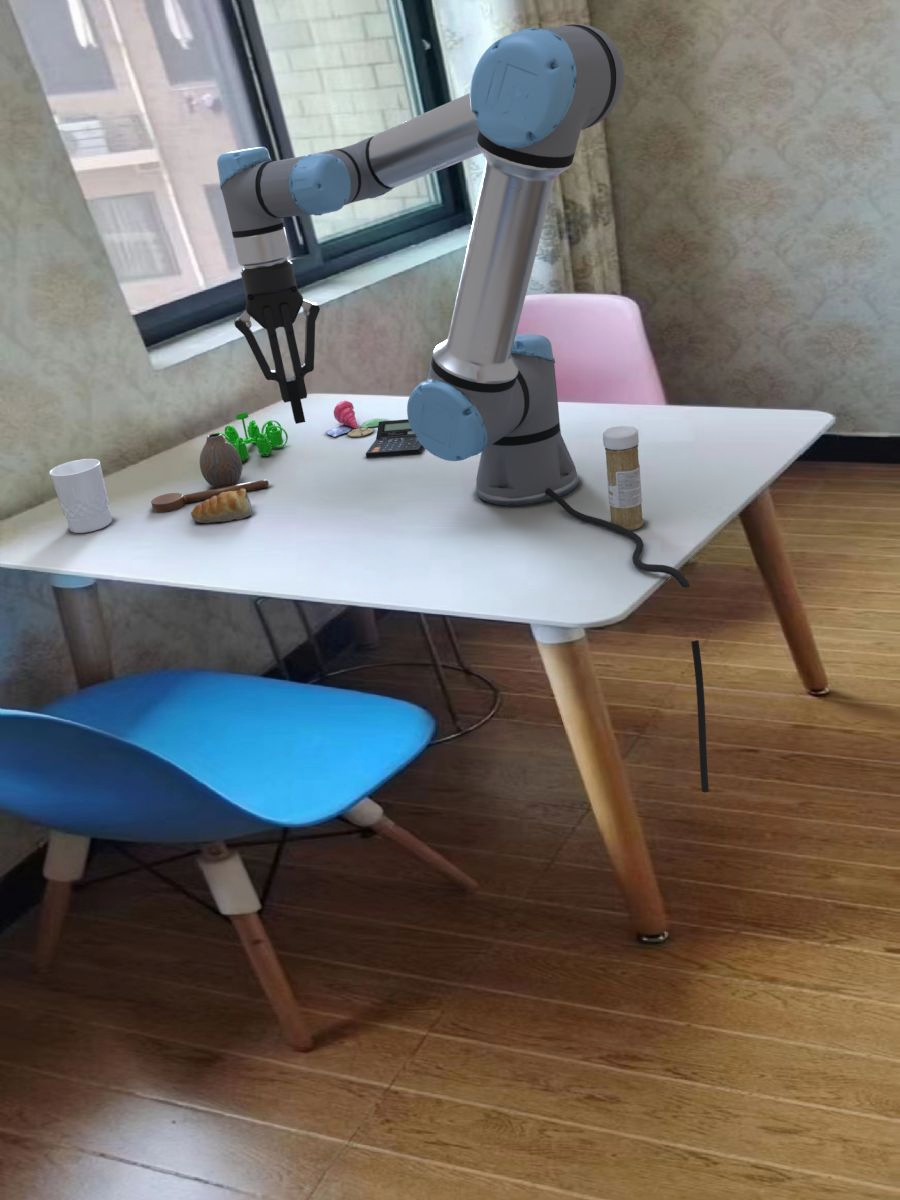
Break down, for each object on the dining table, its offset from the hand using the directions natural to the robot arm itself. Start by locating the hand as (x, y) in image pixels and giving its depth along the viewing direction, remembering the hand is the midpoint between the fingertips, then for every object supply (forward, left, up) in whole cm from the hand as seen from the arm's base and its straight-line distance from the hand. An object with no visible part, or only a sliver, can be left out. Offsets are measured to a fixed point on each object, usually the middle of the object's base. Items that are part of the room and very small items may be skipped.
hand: (299, 420), depth 175 cm
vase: (+19, +14, -14) cm, 27 cm away
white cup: (+11, +36, -14) cm, 40 cm away
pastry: (+2, +14, -14) cm, 20 cm away
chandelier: (+36, +9, -14) cm, 39 cm away
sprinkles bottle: (-34, -39, -14) cm, 54 cm away
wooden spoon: (+13, +17, -13) cm, 25 cm away
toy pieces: (+38, -11, -14) cm, 41 cm away
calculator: (+22, -17, -14) cm, 31 cm away
